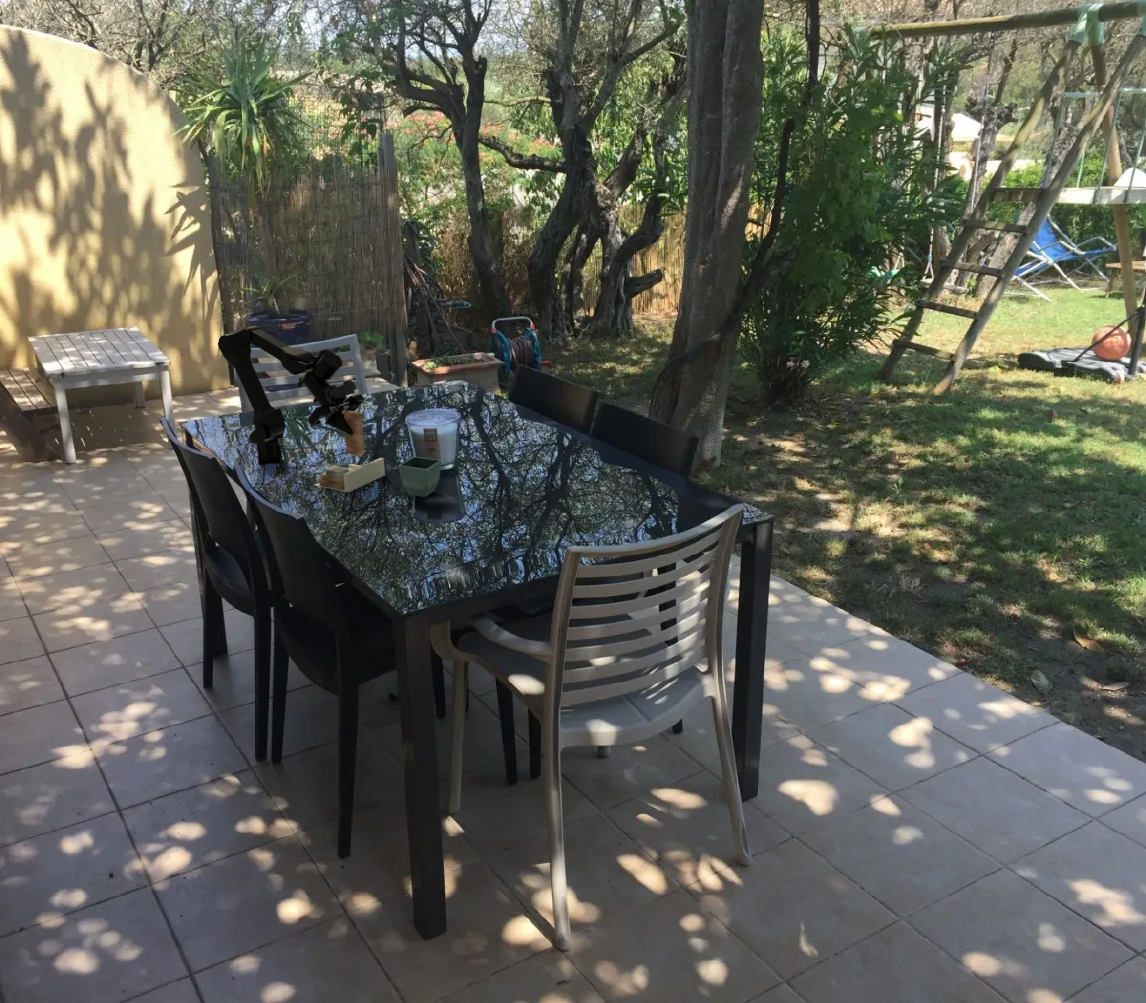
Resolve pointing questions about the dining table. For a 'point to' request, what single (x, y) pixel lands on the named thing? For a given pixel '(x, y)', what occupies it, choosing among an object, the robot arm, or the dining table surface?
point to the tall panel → (354, 433)
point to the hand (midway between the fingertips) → (355, 433)
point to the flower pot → (420, 475)
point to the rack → (361, 474)
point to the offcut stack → (333, 477)
